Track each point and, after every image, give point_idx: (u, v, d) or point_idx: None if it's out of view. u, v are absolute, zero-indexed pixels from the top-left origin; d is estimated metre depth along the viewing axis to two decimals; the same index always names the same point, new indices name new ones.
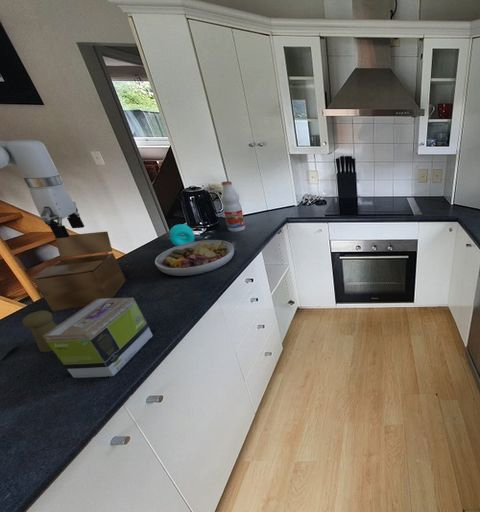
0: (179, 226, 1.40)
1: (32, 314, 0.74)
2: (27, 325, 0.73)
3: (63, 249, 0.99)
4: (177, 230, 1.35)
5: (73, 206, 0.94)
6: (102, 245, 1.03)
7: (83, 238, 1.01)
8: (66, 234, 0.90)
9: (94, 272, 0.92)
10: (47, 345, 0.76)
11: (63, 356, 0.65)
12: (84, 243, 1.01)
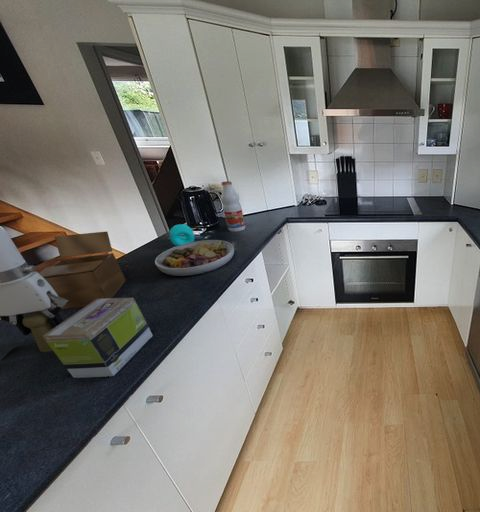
0: (179, 226, 1.40)
1: (32, 314, 0.74)
2: (27, 325, 0.73)
3: (63, 249, 0.99)
4: (177, 230, 1.35)
5: (38, 304, 0.72)
6: (102, 245, 1.03)
7: (83, 238, 1.01)
8: None
9: (94, 272, 0.92)
10: (47, 345, 0.76)
11: (63, 356, 0.65)
12: (84, 243, 1.01)
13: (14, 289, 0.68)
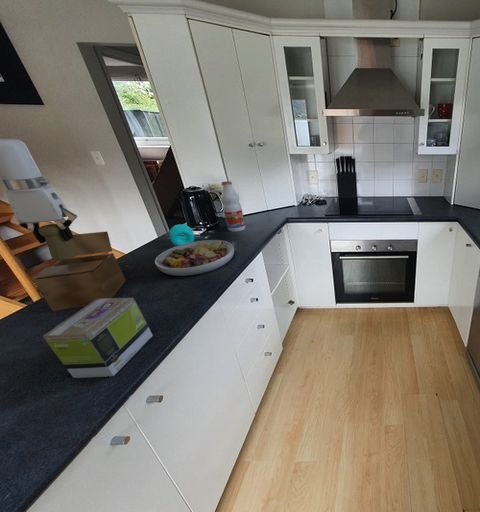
0: (179, 226, 1.40)
1: (46, 225, 0.86)
2: (42, 233, 0.84)
3: None
4: (177, 230, 1.35)
5: (52, 214, 0.84)
6: (102, 245, 1.03)
7: (83, 238, 1.01)
8: None
9: (94, 272, 0.92)
10: (59, 254, 0.88)
11: (63, 356, 0.65)
12: (84, 243, 1.01)
13: (32, 197, 0.80)
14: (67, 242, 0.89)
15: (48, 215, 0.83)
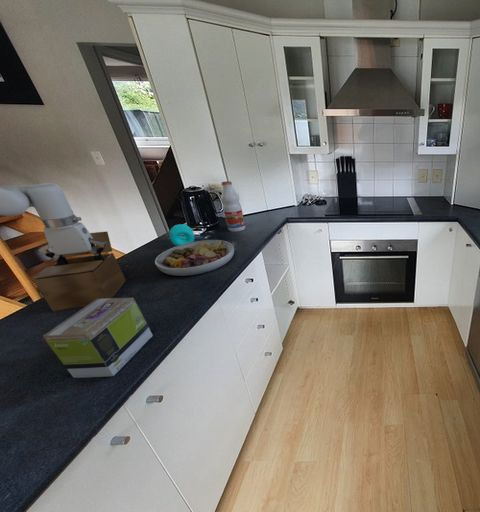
0: (179, 226, 1.40)
1: None
2: None
3: None
4: (177, 230, 1.35)
5: (82, 247, 0.95)
6: None
7: None
8: None
9: (94, 272, 0.92)
10: None
11: (63, 356, 0.65)
12: None
13: (66, 233, 0.92)
14: None
15: (79, 247, 0.95)
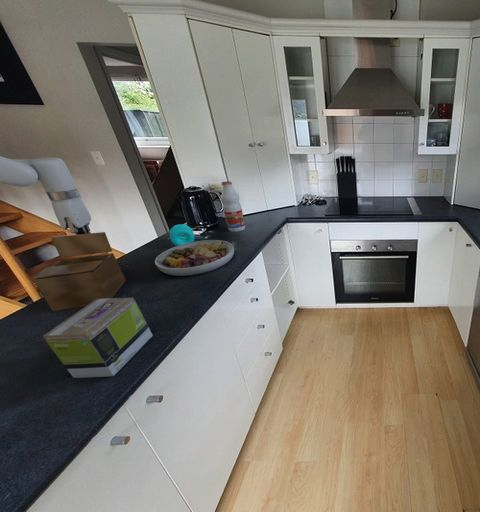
0: (179, 226, 1.40)
1: None
2: None
3: (62, 249, 0.98)
4: (177, 230, 1.35)
5: (89, 216, 1.03)
6: (101, 245, 1.03)
7: (80, 239, 1.00)
8: None
9: (94, 272, 0.92)
10: None
11: (63, 356, 0.65)
12: (82, 244, 1.00)
13: (80, 203, 0.99)
14: None
15: (88, 217, 1.02)
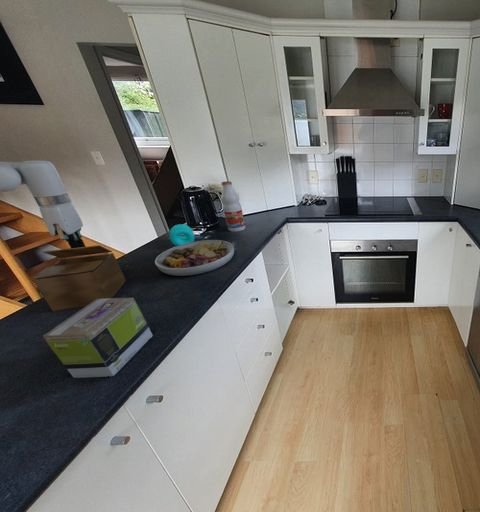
0: (179, 226, 1.40)
1: None
2: None
3: (60, 255, 0.97)
4: (177, 230, 1.35)
5: (80, 222, 0.98)
6: (100, 251, 1.01)
7: (76, 250, 0.96)
8: None
9: (94, 272, 0.92)
10: None
11: (63, 356, 0.65)
12: (79, 252, 0.98)
13: (70, 208, 0.94)
14: None
15: (79, 223, 0.97)
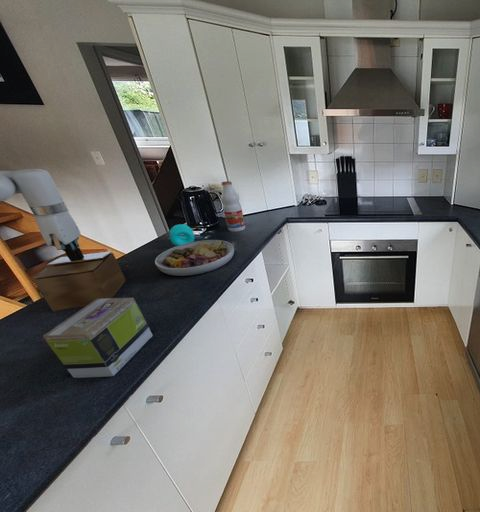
0: (179, 226, 1.40)
1: None
2: None
3: None
4: (177, 230, 1.35)
5: (77, 230, 0.96)
6: None
7: None
8: (79, 257, 0.96)
9: (94, 272, 0.92)
10: None
11: (63, 356, 0.65)
12: None
13: (67, 217, 0.91)
14: None
15: (76, 232, 0.95)
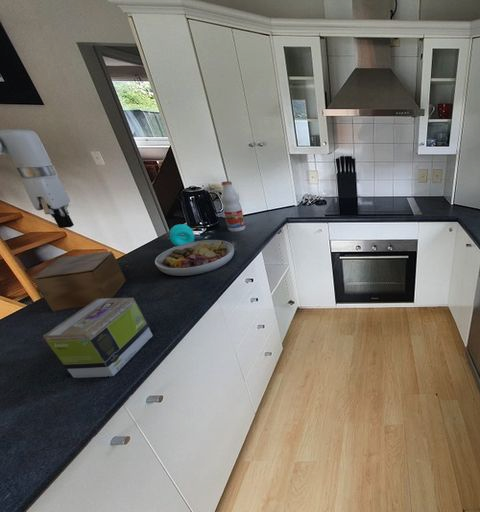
0: (179, 226, 1.40)
1: None
2: None
3: None
4: (177, 230, 1.35)
5: (67, 197, 0.93)
6: None
7: None
8: (69, 224, 0.93)
9: (94, 272, 0.92)
10: None
11: (63, 356, 0.65)
12: None
13: (56, 182, 0.89)
14: None
15: (66, 198, 0.93)
